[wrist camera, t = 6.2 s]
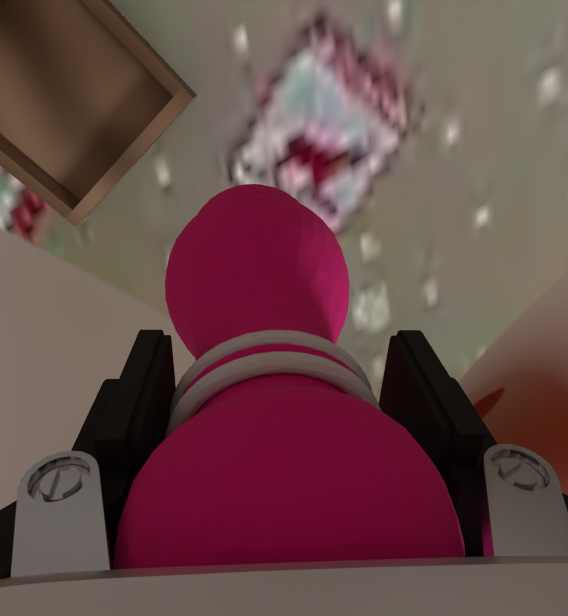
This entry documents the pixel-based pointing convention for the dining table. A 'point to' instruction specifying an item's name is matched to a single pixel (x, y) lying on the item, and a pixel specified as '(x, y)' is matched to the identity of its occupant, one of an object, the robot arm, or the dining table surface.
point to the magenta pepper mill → (275, 411)
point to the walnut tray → (79, 99)
